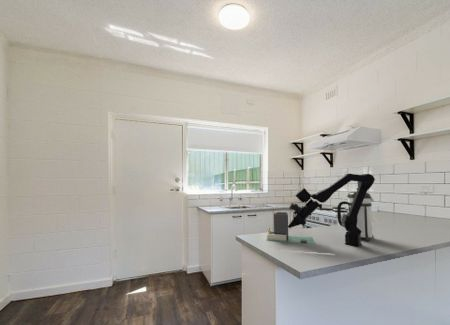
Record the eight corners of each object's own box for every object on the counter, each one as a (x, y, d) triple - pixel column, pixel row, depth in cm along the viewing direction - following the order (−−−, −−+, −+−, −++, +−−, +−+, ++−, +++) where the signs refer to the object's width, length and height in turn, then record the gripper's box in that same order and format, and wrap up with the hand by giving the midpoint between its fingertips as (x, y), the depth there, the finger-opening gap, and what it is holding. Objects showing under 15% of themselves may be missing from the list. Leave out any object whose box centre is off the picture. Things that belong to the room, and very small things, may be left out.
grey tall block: (288, 237, 132) (287, 211, 133) (288, 239, 128) (287, 213, 128) (274, 236, 134) (273, 211, 135) (274, 238, 129) (273, 212, 130)
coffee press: (366, 234, 143) (364, 186, 144) (381, 241, 127) (378, 188, 129) (337, 233, 144) (336, 186, 146) (348, 240, 128) (346, 188, 130)
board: (312, 238, 133) (312, 227, 134) (315, 245, 120) (315, 233, 120) (267, 235, 140) (267, 225, 140) (266, 242, 126) (266, 230, 126)
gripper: (296, 197, 139) (278, 214, 141) (299, 200, 121) (278, 219, 123) (310, 210, 137) (291, 227, 139) (315, 215, 119) (293, 235, 121)
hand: (288, 227), depth 130 cm, fingers closed, pressing on grey tall block
